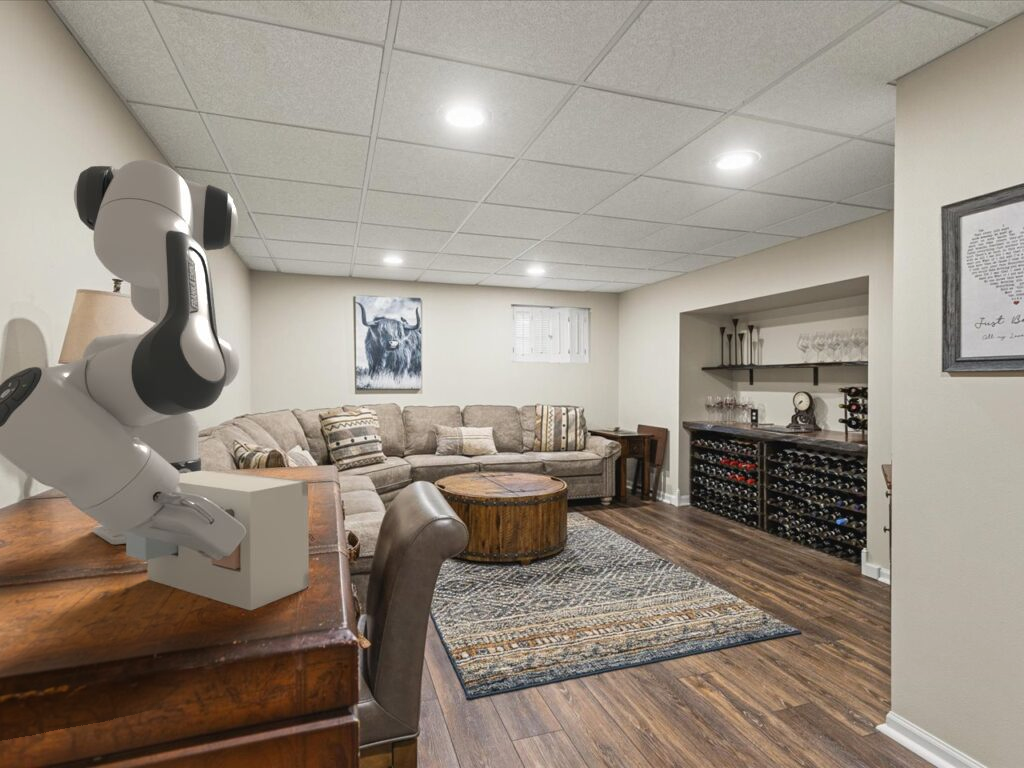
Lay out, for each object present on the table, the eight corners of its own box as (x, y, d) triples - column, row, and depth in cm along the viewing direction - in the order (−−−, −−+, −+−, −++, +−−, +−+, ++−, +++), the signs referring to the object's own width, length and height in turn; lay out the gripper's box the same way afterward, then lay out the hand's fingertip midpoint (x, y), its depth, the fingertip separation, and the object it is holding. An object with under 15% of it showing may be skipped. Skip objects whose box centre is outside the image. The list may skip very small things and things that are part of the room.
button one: (126, 555, 74) (126, 519, 74) (184, 540, 81) (184, 508, 81) (145, 560, 72) (145, 523, 72) (204, 545, 79) (204, 511, 79)
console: (143, 580, 78) (142, 478, 79) (207, 561, 87) (206, 469, 87) (246, 612, 67) (245, 492, 67) (308, 587, 75) (308, 480, 75)
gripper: (208, 474, 57) (285, 542, 66) (111, 463, 67) (189, 523, 76) (164, 525, 54) (252, 591, 62) (68, 505, 63) (156, 564, 72)
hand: (217, 553), depth 69 cm, fingers closed, pressing on button two
